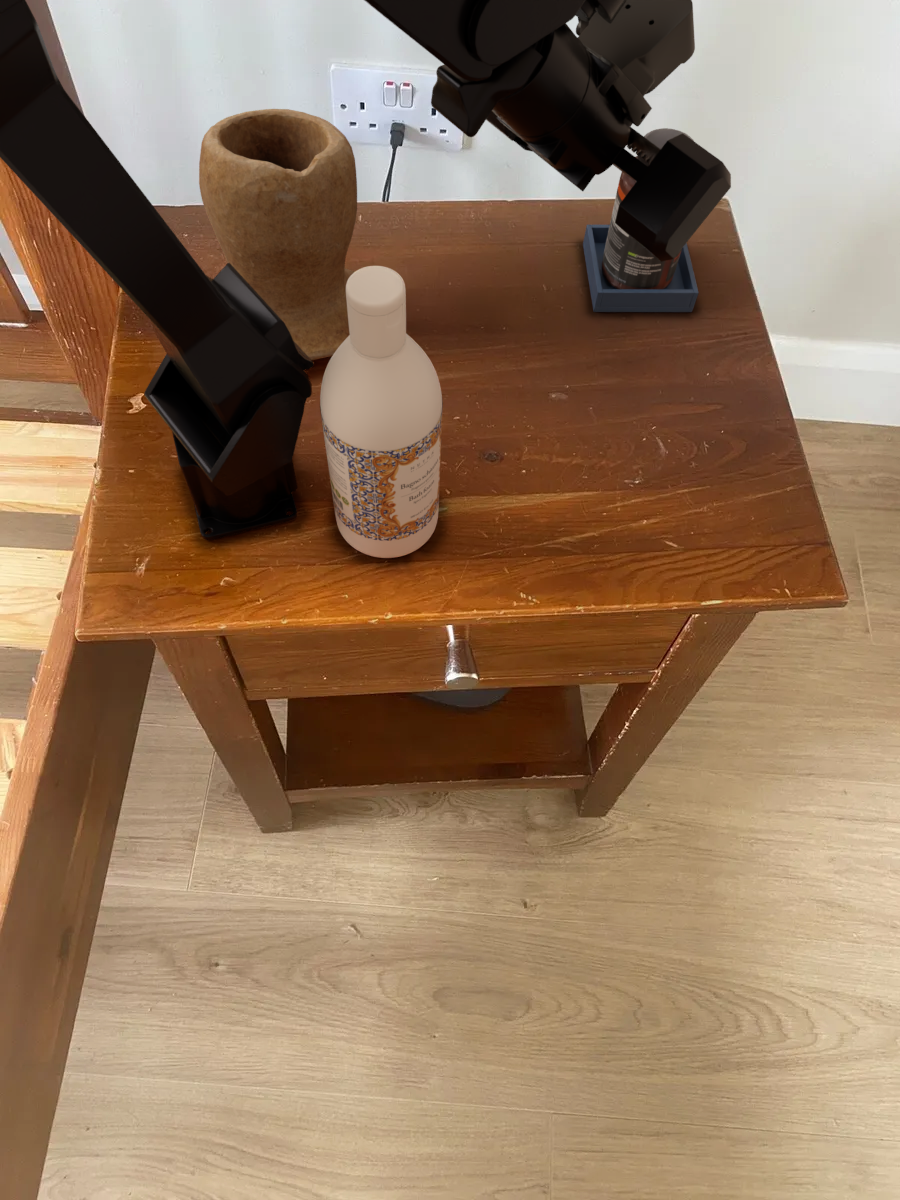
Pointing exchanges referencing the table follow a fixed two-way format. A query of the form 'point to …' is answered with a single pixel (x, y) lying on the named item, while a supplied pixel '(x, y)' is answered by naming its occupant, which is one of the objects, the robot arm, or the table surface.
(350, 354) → the bath foam
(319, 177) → the stone cup
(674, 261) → the supplement bottle
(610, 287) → the tray
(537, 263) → the table surface
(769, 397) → the table surface
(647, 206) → the robot arm
